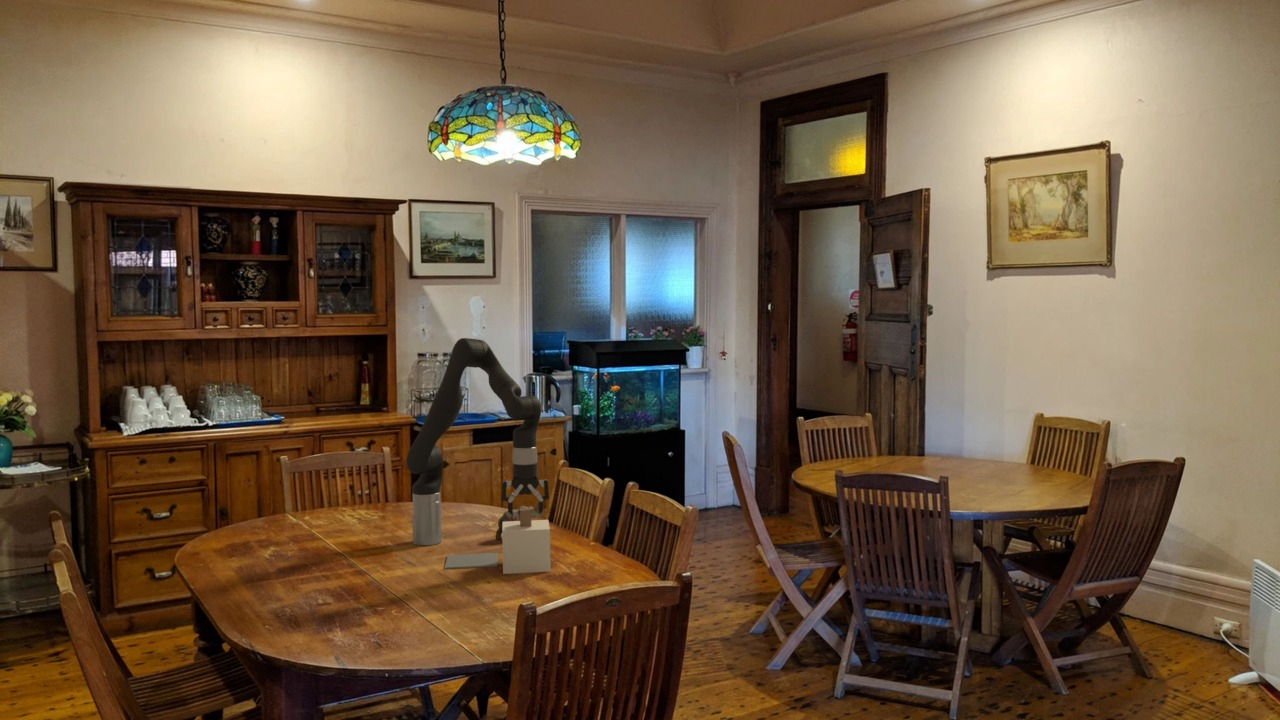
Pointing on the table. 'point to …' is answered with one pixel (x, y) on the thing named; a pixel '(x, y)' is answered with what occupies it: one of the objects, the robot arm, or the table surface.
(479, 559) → the mat
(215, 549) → the table surface
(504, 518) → the figurine
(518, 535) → the cover
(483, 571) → the table surface
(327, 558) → the table surface
